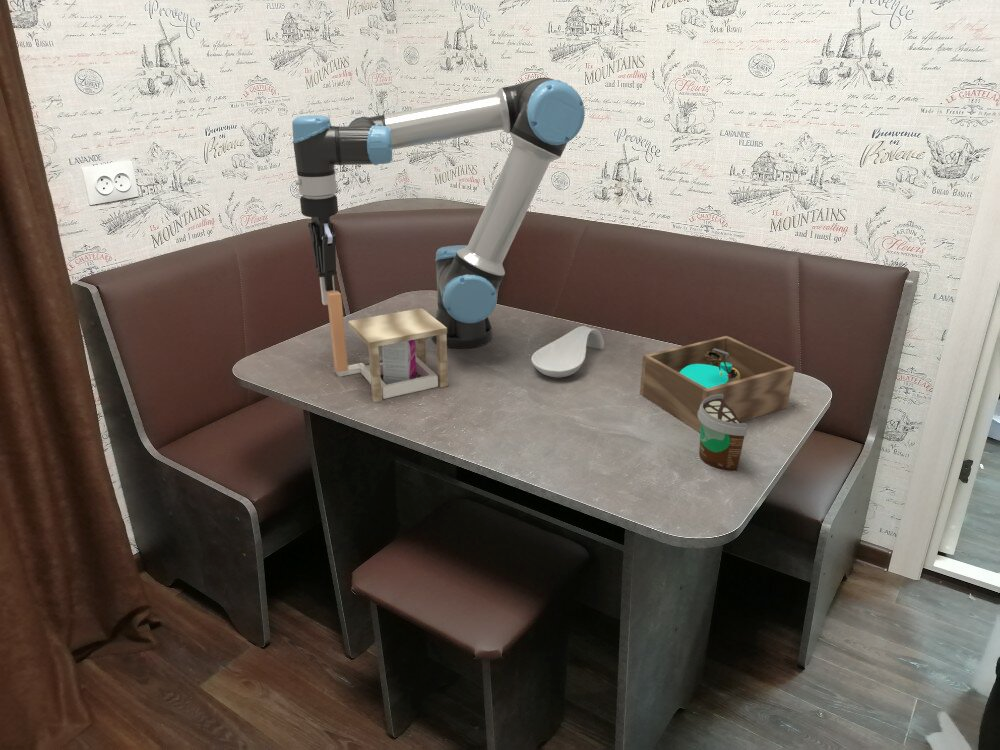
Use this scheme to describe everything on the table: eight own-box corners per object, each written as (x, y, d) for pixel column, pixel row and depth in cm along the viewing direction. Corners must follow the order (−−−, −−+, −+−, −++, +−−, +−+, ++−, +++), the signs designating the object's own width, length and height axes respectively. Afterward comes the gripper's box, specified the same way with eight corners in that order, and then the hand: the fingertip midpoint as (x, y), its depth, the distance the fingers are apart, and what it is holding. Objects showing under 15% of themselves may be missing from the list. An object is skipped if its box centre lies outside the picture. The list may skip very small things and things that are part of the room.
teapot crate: (721, 372, 167) (726, 335, 164) (787, 407, 152) (794, 367, 148) (639, 394, 158) (643, 355, 154) (701, 433, 142) (706, 391, 139)
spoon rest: (566, 389, 161) (567, 358, 157) (521, 375, 167) (521, 346, 164) (616, 353, 178) (618, 325, 175) (573, 342, 184) (574, 315, 181)
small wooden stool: (424, 363, 172) (421, 308, 166) (448, 385, 161) (447, 327, 155) (353, 377, 165) (348, 320, 159) (374, 402, 154) (369, 342, 148)
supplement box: (409, 388, 160) (406, 339, 155) (383, 386, 161) (379, 337, 156) (417, 377, 165) (415, 329, 160) (392, 375, 166) (388, 327, 161)
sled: (408, 358, 174) (403, 280, 166) (438, 386, 161) (434, 303, 153) (334, 373, 167) (326, 292, 159) (359, 404, 153) (351, 317, 145)
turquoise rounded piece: (766, 402, 155) (777, 334, 149) (718, 430, 144) (728, 359, 137) (708, 380, 164) (716, 316, 158) (658, 405, 153) (665, 338, 147)
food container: (683, 441, 140) (689, 393, 136) (715, 439, 140) (722, 392, 136) (705, 477, 129) (712, 426, 125) (739, 475, 129) (748, 425, 125)
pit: (381, 362, 173) (381, 360, 172) (387, 368, 169) (387, 366, 169) (365, 365, 171) (365, 363, 171) (370, 371, 168) (370, 370, 167)
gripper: (292, 191, 157) (304, 297, 167) (308, 202, 147) (320, 315, 157) (327, 187, 160) (337, 292, 170) (345, 199, 150) (354, 309, 160)
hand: (329, 303), depth 164 cm, fingers closed
